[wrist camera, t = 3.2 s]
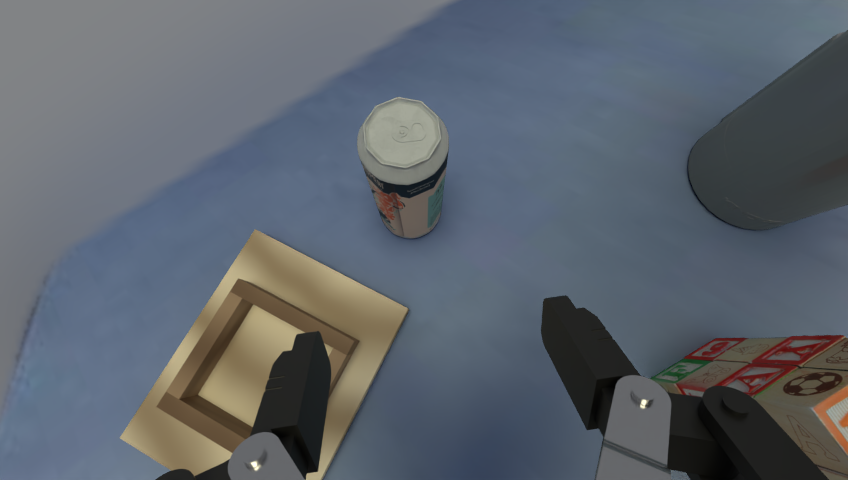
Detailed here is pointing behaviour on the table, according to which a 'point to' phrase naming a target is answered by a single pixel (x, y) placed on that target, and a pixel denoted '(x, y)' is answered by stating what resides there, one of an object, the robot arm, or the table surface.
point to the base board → (262, 356)
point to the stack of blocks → (780, 387)
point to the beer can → (405, 164)
